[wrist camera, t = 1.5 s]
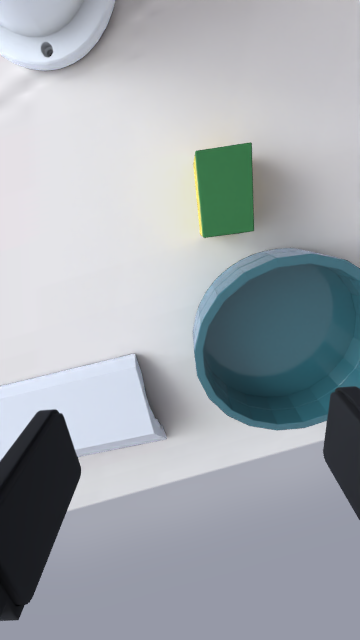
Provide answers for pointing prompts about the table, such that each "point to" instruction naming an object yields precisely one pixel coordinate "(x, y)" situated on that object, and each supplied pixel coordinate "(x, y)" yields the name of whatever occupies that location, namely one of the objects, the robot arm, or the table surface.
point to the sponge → (224, 190)
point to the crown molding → (85, 406)
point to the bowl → (279, 337)
